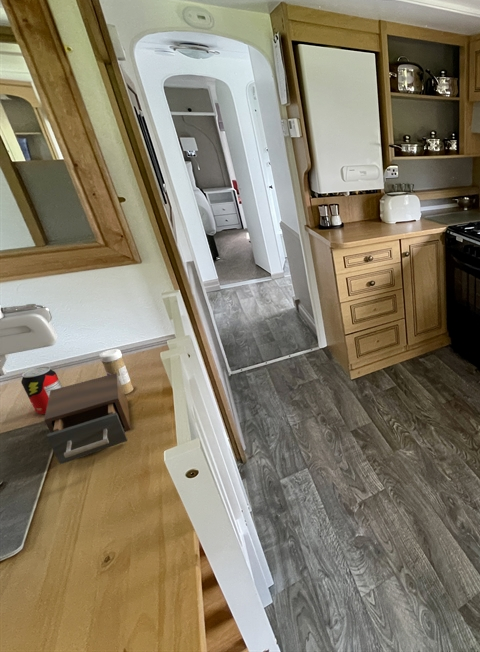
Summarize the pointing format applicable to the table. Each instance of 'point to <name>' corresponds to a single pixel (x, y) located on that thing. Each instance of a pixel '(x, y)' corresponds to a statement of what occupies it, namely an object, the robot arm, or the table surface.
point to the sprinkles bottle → (116, 368)
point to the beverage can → (40, 386)
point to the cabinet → (87, 399)
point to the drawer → (86, 433)
